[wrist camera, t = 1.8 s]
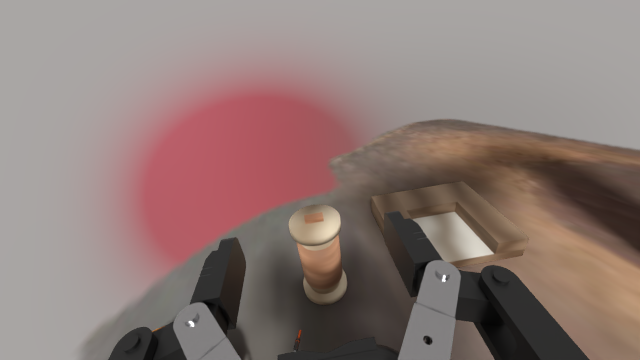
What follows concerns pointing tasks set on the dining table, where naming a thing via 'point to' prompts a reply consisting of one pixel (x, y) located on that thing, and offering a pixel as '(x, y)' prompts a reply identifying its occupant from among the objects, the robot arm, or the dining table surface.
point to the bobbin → (319, 252)
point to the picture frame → (455, 222)
